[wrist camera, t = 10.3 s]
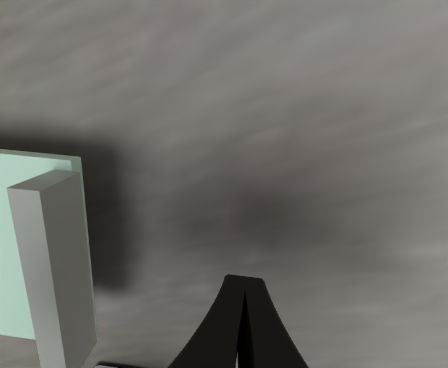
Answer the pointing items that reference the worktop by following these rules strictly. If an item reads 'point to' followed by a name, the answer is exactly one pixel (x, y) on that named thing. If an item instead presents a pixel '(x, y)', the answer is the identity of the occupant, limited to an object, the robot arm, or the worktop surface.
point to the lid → (46, 257)
